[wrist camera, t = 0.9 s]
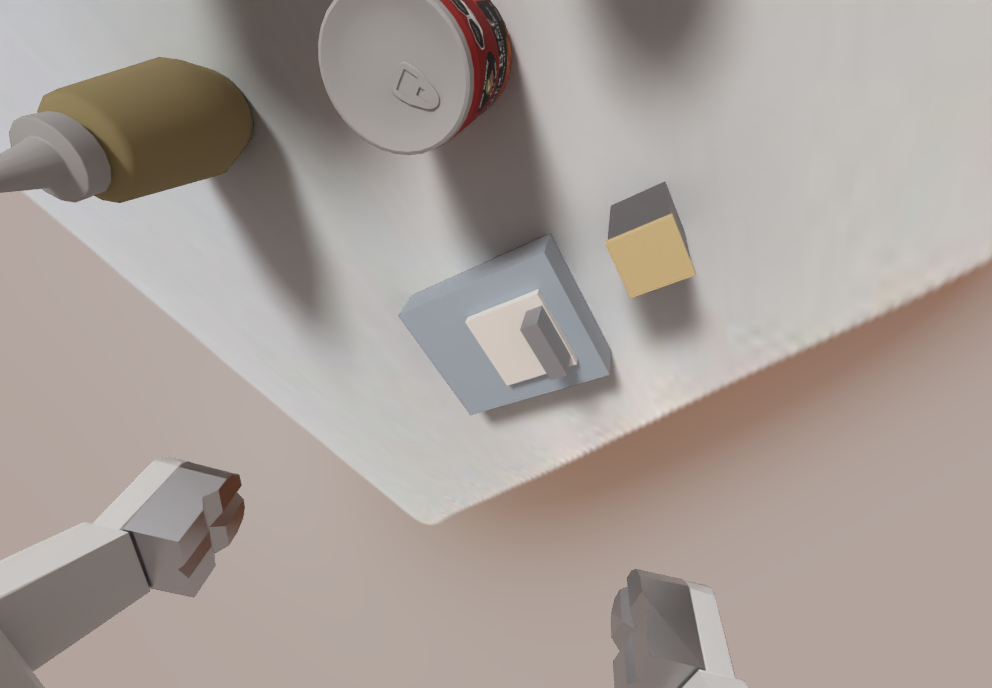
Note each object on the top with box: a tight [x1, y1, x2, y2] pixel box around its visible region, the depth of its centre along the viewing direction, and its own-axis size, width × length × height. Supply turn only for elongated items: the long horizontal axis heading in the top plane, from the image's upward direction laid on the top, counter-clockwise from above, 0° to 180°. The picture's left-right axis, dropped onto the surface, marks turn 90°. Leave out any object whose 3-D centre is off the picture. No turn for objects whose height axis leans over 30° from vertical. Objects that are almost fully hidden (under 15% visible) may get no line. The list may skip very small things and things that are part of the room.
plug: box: [605, 182, 696, 298], centre depth 34 cm, size 4×4×7 cm
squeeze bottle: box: [0, 57, 253, 203], centre depth 32 cm, size 8×8×18 cm
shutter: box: [465, 289, 578, 386], centre depth 39 cm, size 7×7×3 cm
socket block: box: [398, 234, 611, 415], centre depth 43 cm, size 14×12×4 cm
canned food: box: [318, 0, 511, 155], centre depth 28 cm, size 8×8×11 cm
